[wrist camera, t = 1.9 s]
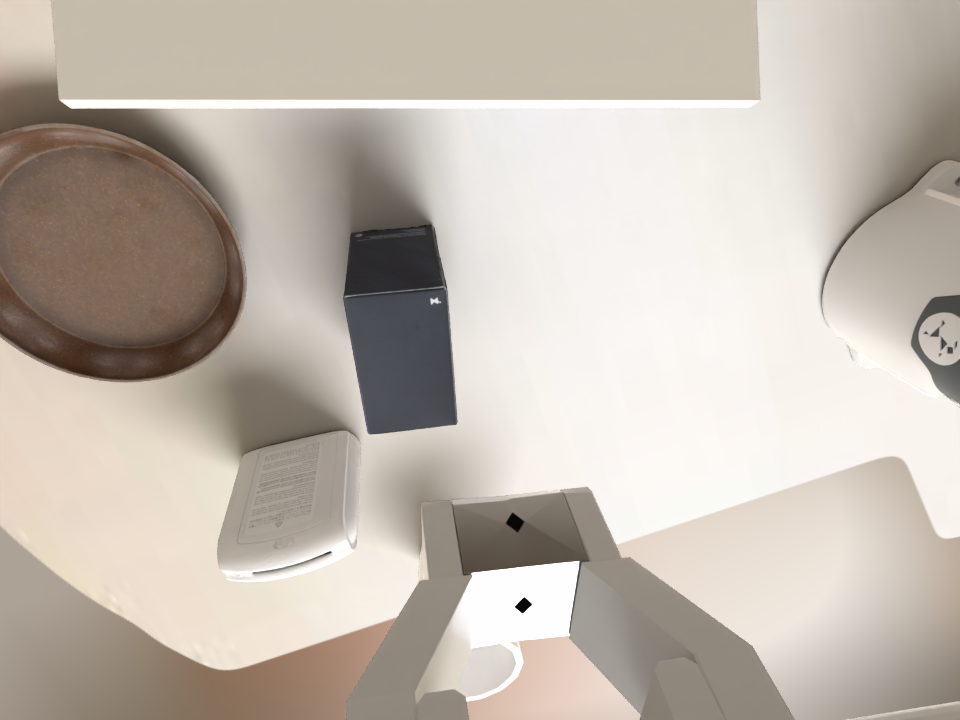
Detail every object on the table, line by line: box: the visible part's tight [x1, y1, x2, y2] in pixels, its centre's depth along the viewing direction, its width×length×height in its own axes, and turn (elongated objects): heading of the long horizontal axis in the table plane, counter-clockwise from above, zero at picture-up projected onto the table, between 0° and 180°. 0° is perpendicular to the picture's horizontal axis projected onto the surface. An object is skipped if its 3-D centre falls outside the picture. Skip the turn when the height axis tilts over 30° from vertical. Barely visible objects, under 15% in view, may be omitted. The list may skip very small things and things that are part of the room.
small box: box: [343, 225, 457, 434], centre depth 42 cm, size 11×6×10 cm, turn 3°
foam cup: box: [417, 547, 523, 701], centre depth 57 cm, size 10×9×13 cm
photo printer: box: [217, 431, 361, 582], centre depth 48 cm, size 10×4×12 cm, turn 101°
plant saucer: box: [0, 123, 247, 382], centre depth 40 cm, size 18×18×3 cm
